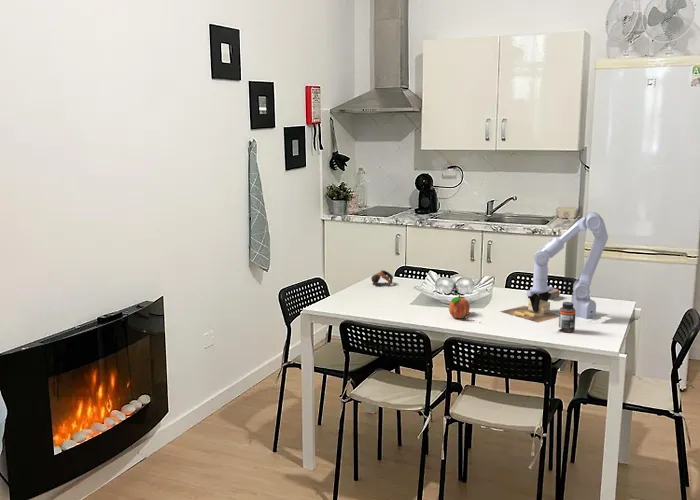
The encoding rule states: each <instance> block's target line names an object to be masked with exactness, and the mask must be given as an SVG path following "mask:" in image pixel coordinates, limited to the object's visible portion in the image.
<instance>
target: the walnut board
mask: <svg viewBox="0 0 700 500" xmlns="http://www.w3.org/2000/svg"><path fill="white" fill-rule="evenodd" d="M516 311H517V312H520V313H524V312H530V313H533V314H536V316H530V315H527V314H526V316H521V315H517V314H514V312H516ZM499 312H500V313H503V314H506V315H507V314H508V315H511V316H514V317H517V318H521V319H523V320H528V321H531V322H534V323H542V322H545V321H549V320H553V319H557V318H559V316H560V314H557V313H553V312H550V313H548V314H544V315H543V314H539V313H536V312H532V311H528V305H522V306H518V307H513V308H509V309H505V310H500V311H499Z"/></svg>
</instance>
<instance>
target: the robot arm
mask: <svg viewBox="0 0 700 500" xmlns="http://www.w3.org/2000/svg"><path fill="white" fill-rule="evenodd" d="M604 221H605V220H604V219H603V218H602V217H601V215H600V214H599V213H598V212H596V211H591V212H588V213H587V214H586V215H585V216H583V217H581V218H580V219H578V220H577V221H575V223H573V224H572V225H571V226H570V227H569V228H568V229H567V230H566V231H565V232H563V233H562V234H561V235H560V236H559V237H556V236H555V237H553V238H552V237H551V238H549V239H548V242H547V243H546V244H545V245H543V246H540V247H539V249H538V250H537V251H535V253H534V255H533V256H534V257H533V260H534V264H533V265H534V267H533V275H532V276H533V277H532V279H533V281H532V286H531V288H530V289H528V290H526V293H525V294H526V296H527V298H528V297H529V298H528V300H530V301H531V304H532V309H533V311H536V312H537V311H538V308H539V302H540V300H543V301H546V302H549V301H550V300H549V298H550V296H551V293H548V292H549V291H550V292H552V291H553V288H554V287H553V286H551V285H548V276H549V267H548V265H549V264H548V263H549V261H550V259H552V258H554V257H555V256H556V255H557V254H558V253H560V252H561V251H562V250H563V249H564V248H565V243H567V242H568V241H569V240H571V239H572V238H573V237H574V236H576V235H577V234H578V233H580V232H586V231H588V230H589V231H591V233H592V235H593V236H594V239H593V243H592V245H591V247H590V251H589V252H588V254H587V257H586V261H585V262H584V265H583V267H582V269H581V272H580V274H579V276H578V278H577V280H575V281H574V282H573V285H572V288H573V289H572V290H573V292H572V293H573V294H572V295H571V301H570V302H572V303H573V308H574V309H575V310H576V313H575V318H581V319H584V320H588V319H593V318H596V317H597V316H596V315H597V302H596V301H595V300H592V299H591V295H590V293H591V292H590V288H591V287H590V286H591V284H592V280H593V278H594V277H593V276H594V274H595V273H596V269H597V267H598V264H599V262H600V259H601V256H602V254H603V252H604V249H605V247H606V244H607V242H608V239H609V235H608V230H607V227H606V224H605V222H604ZM538 295H539V296H538Z"/></svg>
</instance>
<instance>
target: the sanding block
mask: <svg viewBox="0 0 700 500" xmlns="http://www.w3.org/2000/svg"><path fill="white" fill-rule="evenodd" d="M527 304H528V305H527V306H528V311H532V312H536V311H533V309H532V304H531V301H530V299H528V303H527ZM550 311H551V302H550V301H548V302H546V301H543V300H540V302H539V308H538V311H537V312H536V313H539V314H543V315H544V314H548V313H551V312H550Z"/></svg>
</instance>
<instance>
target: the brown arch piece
mask: <svg viewBox="0 0 700 500" xmlns="http://www.w3.org/2000/svg"><path fill="white" fill-rule="evenodd" d="M380 279H383V280H385V281H386V282H387V284H386V286H387V287H390V286H391V285H392V283H393V279H394V276H393V275H392V274H391V273H390V272H388V271H386V270H383V269H382V270H380V271H379V272H377V273H375V274H373V275H372V276H371V278H370V280H371V282H372V283H371V284H372V286H375V285H377V286H378V283H379V281H380Z"/></svg>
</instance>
